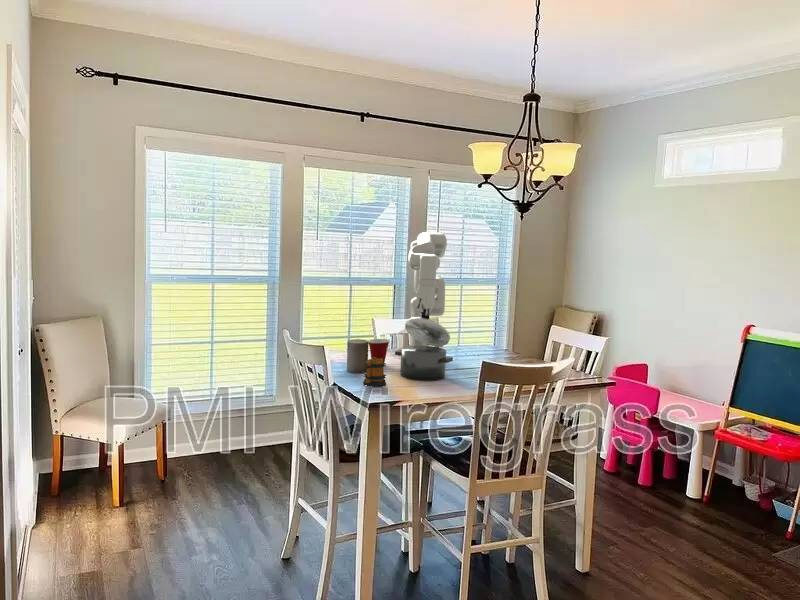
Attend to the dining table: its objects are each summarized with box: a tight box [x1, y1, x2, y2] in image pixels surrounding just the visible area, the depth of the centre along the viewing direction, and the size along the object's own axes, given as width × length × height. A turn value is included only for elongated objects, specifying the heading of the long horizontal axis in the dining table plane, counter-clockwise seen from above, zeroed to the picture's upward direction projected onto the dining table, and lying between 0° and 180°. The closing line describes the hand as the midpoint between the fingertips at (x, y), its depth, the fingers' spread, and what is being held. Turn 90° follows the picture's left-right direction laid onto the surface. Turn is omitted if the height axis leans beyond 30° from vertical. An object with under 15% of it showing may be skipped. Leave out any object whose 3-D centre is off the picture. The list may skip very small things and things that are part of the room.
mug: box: [362, 357, 387, 388], centre depth 259 cm, size 13×10×12 cm
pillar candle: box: [346, 338, 369, 374], centre depth 284 cm, size 10×10×15 cm
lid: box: [404, 317, 451, 348], centre depth 282 cm, size 21×22×3 cm
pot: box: [394, 345, 454, 382], centre depth 281 cm, size 26×20×12 cm
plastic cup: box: [367, 338, 391, 363], centre depth 300 cm, size 11×11×12 cm
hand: (424, 324), depth 279 cm, fingers closed
